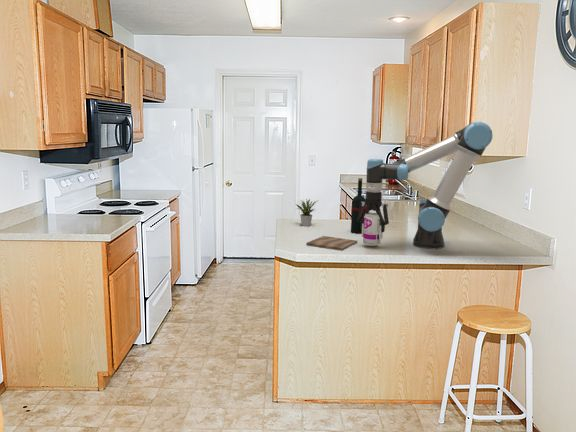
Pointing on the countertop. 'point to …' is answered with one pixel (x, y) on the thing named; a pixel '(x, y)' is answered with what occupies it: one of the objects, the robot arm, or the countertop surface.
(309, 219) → the house plant
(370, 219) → the supplement can
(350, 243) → the walnut board
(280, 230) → the countertop surface
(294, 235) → the countertop surface
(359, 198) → the wine bottle
